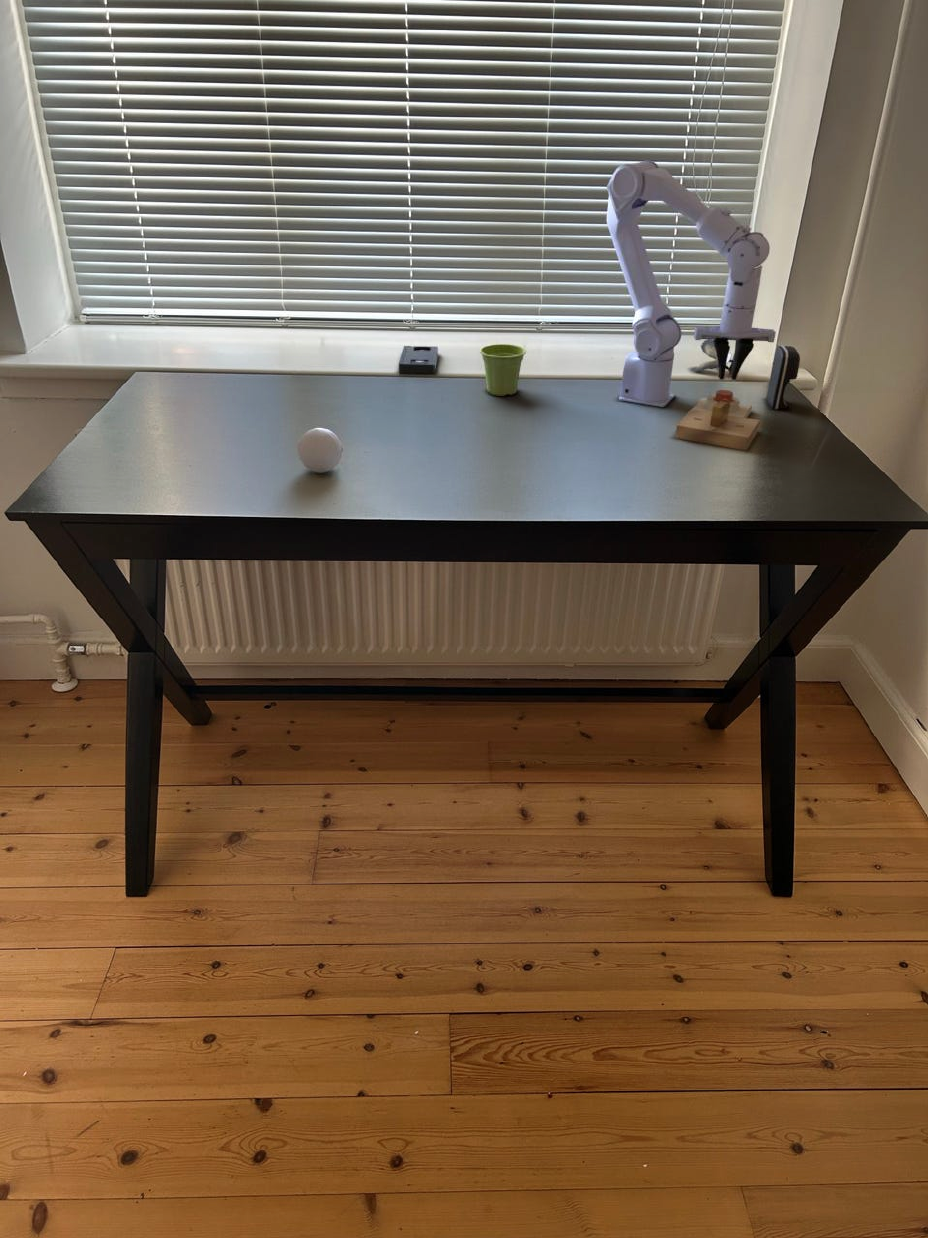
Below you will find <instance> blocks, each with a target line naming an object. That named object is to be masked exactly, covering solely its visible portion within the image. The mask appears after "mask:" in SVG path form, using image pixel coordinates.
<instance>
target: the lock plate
mask: <svg viewBox="0 0 928 1238" xmlns="http://www.w3.org/2000/svg"><path fill="white" fill-rule="evenodd" d="M711 415H712V412H706V411H700V410H693V408H691V409H689V411H688V412H687V413H686V414H685V415H684V416H683V418H681V420H680V421H679V423H677V425H676V429H675V435H674V436H675V437H674V438H675V439H679V440H685V441H691V442H697V443H703V444H709V445H714V446H720V447H724V448H725V447H726V448H731V449H737V450H741V451H747V450H748V449H749V447H750V445H751V443H752V442H753V440H754V439H755V437H756V436H757V434H758V432H759V427H760V422H761V420H760V419H754V418H748V417H747V418H743V417H737V416H730V415H728V419H727V420H726V421H724V422H723V423H722V424H720V425H719V426H717V427H715V426H711V425H710V422H711Z"/></svg>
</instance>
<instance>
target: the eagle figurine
mask: <svg viewBox="0 0 928 1238" xmlns="http://www.w3.org/2000/svg"><path fill="white" fill-rule="evenodd" d="M700 349H701V350H702V353H704V354H705V355H706V356H708V357H709V358H711V359H713V360H710V361H709V360H708V361H704V362H702V363H700V364H699V365H697V366H695V367H692V368H691V371H693V372H700V371H704V370H714V369H716V370H717V371H719V366H718V358H717V353H716V349H715V345H714V342H713V340H708V339H704V341H702V343H701V344H700ZM733 360H734V355H733V357H732V353H731V352H729V353H728V357H727V362H726V369H725V370H727V372H728V375H729V376H731V369H732V365H733ZM729 363H730V365H729V366H728V364H729Z"/></svg>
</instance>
